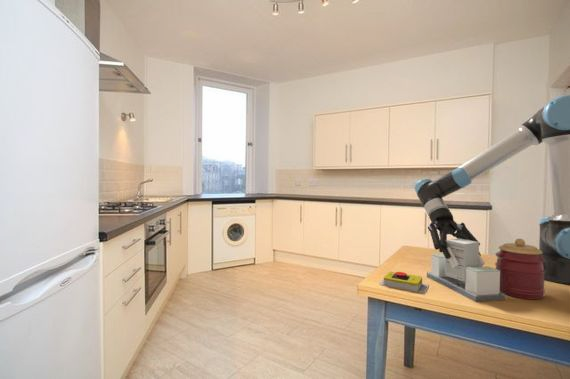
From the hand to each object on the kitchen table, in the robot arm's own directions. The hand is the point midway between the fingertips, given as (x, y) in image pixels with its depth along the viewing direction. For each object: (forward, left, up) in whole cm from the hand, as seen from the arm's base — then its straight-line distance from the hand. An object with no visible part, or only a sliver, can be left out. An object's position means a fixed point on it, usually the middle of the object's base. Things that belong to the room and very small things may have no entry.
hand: (468, 266), depth 100 cm
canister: (-13, -9, -8) cm, 18 cm away
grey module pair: (+2, -2, -7) cm, 7 cm away
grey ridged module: (+3, -2, -5) cm, 6 cm away
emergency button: (+18, +9, -9) cm, 22 cm away
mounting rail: (+2, -2, -8) cm, 9 cm away
